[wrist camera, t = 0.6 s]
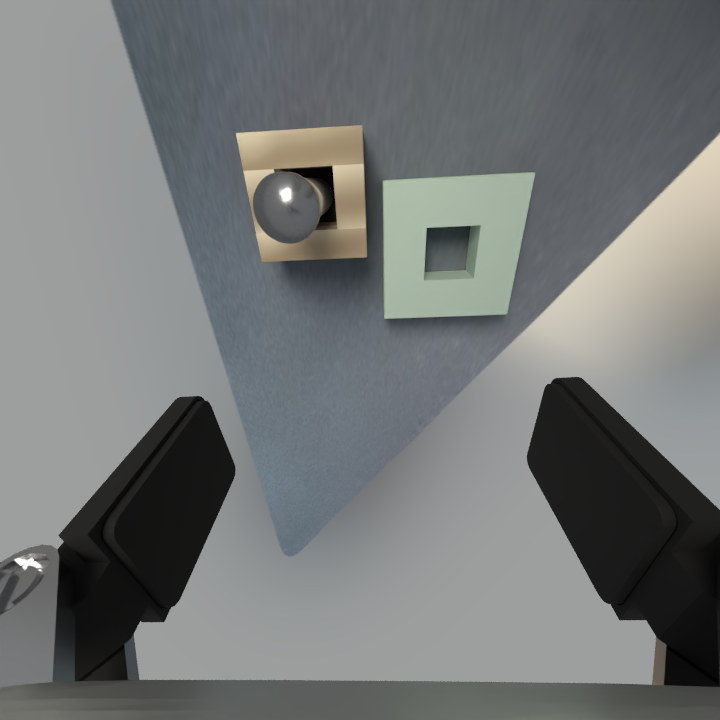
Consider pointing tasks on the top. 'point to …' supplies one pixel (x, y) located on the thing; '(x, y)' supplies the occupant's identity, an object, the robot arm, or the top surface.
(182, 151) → the top surface
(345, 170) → the frame
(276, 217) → the pin
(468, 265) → the dock
